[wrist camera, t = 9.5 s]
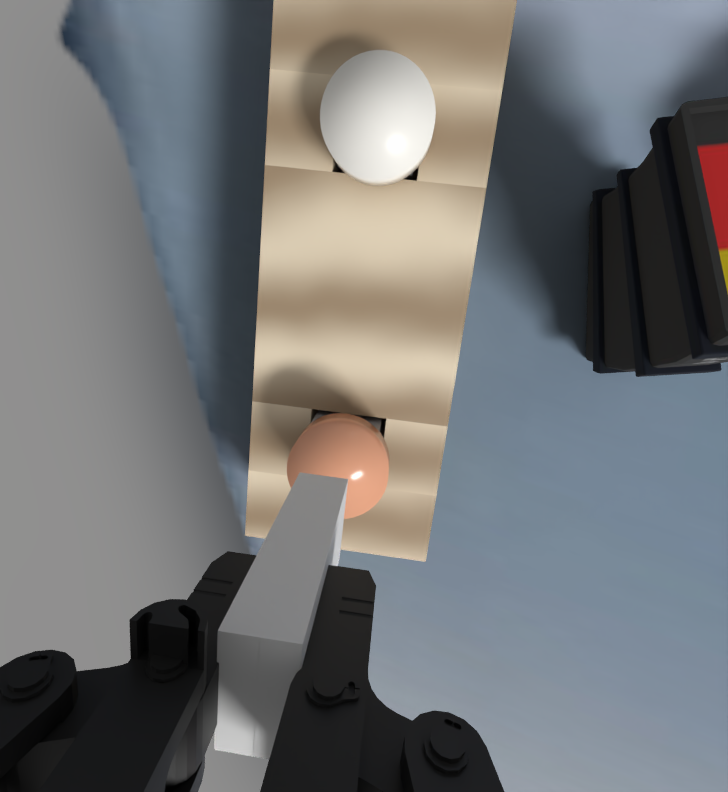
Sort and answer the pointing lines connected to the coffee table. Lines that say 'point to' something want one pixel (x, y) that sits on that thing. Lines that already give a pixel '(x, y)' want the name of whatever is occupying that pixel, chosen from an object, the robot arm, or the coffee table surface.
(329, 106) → the pale plunger
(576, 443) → the coffee table surface
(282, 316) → the block
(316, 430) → the terracotta plunger
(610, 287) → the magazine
